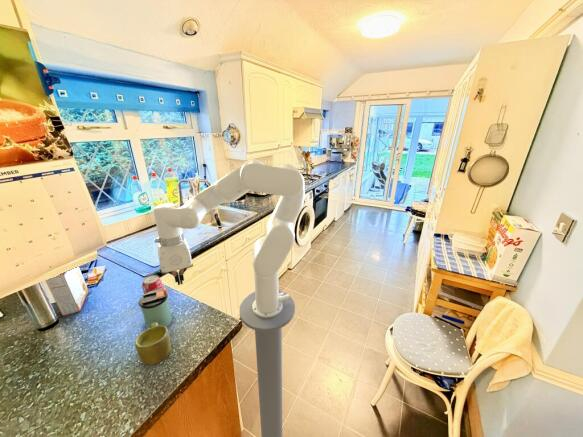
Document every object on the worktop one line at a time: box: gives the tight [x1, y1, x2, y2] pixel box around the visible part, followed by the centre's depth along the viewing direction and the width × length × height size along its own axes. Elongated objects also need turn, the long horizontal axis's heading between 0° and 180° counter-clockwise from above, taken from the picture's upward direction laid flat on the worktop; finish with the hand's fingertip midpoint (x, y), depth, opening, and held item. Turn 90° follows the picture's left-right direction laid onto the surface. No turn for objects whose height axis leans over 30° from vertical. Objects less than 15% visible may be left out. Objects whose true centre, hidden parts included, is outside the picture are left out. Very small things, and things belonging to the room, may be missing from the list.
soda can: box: [141, 274, 164, 295], centre depth 98 cm, size 7×7×12 cm
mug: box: [134, 322, 172, 366], centre depth 77 cm, size 12×10×10 cm
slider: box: [156, 285, 168, 299], centre depth 86 cm, size 3×3×2 cm
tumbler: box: [138, 289, 173, 330], centre depth 87 cm, size 9×9×13 cm
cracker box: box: [45, 266, 89, 317], centre depth 95 cm, size 14×6×21 cm, turn 27°
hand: (180, 282), depth 88 cm, fingers closed
